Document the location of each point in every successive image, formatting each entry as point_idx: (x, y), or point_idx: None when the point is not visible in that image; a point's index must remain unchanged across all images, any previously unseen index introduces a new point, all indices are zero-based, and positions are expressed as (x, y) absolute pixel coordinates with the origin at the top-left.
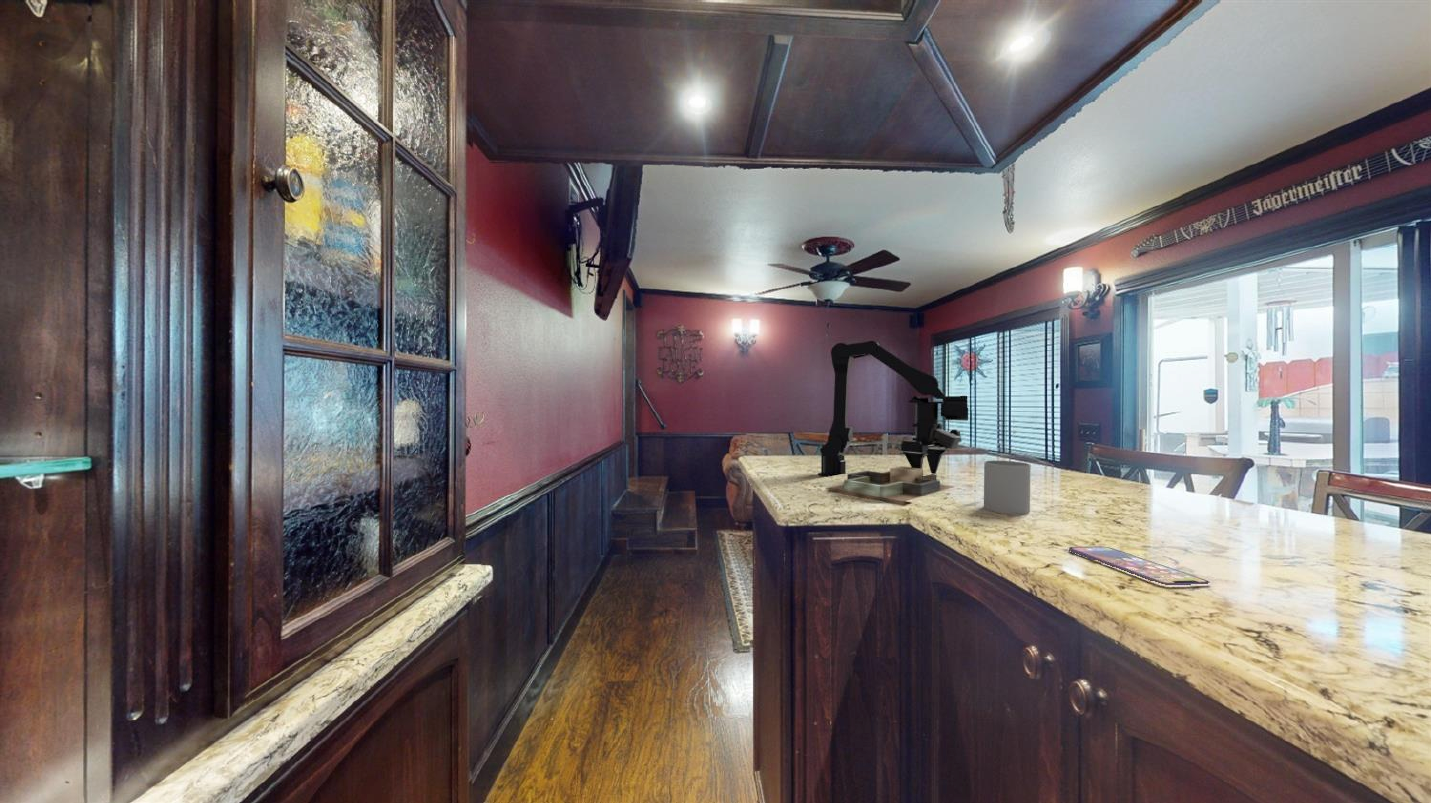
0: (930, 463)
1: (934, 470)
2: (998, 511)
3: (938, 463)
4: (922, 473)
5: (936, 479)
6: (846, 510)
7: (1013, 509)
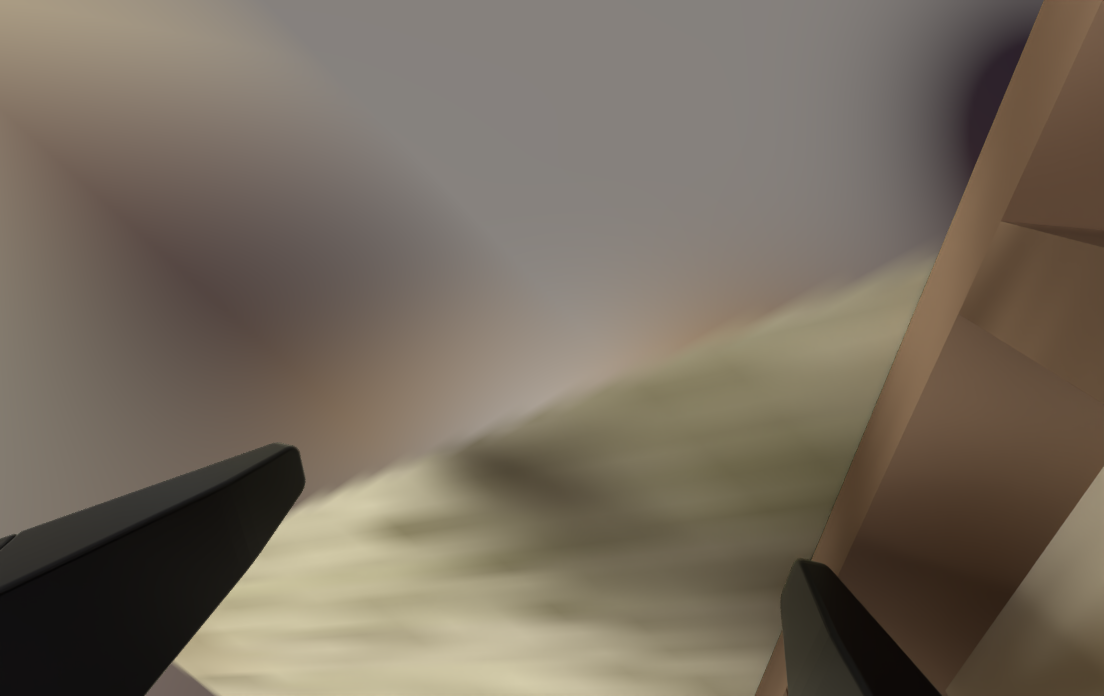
0: (166, 629)
1: (260, 485)
2: None
3: (73, 529)
4: None
5: (1075, 242)
6: None
7: None
